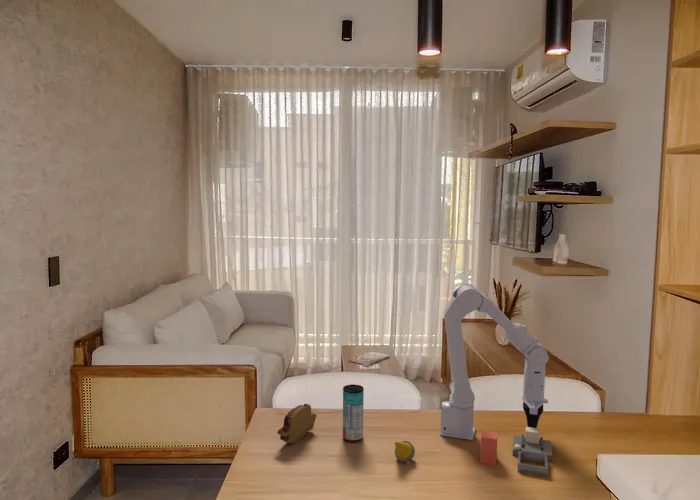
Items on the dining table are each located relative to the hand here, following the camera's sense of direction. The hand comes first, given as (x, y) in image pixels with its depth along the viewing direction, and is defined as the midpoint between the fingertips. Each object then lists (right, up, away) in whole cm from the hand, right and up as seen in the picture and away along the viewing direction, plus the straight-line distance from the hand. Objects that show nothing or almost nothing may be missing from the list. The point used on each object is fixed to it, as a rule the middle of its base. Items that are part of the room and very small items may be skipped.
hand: (532, 428), depth 151 cm
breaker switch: (-2, -1, -6) cm, 6 cm away
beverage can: (-52, -2, -2) cm, 53 cm away
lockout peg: (-16, -4, -13) cm, 21 cm away
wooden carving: (-69, -2, -2) cm, 69 cm away
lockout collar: (-6, -4, -17) cm, 18 cm away
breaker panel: (-3, -3, -8) cm, 9 cm away
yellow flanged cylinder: (-39, -4, -15) cm, 42 cm away
